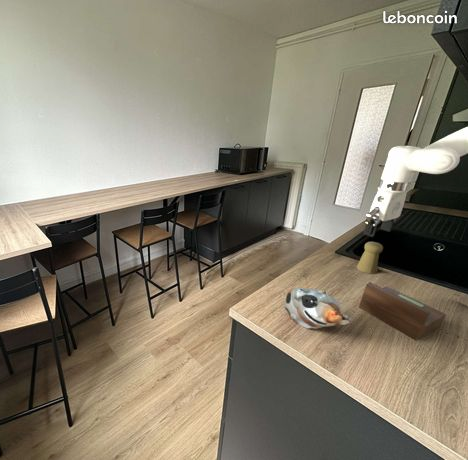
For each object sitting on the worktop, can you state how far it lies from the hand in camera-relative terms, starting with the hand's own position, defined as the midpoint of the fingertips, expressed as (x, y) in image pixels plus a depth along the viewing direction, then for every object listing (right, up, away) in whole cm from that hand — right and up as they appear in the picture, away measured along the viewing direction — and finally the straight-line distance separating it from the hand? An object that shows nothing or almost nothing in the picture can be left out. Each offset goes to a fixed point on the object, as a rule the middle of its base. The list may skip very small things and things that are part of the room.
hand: (377, 232), depth 89 cm
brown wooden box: (-8, -24, -16) cm, 30 cm away
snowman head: (-33, -25, -17) cm, 45 cm away
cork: (+1, -14, +6) cm, 15 cm away
